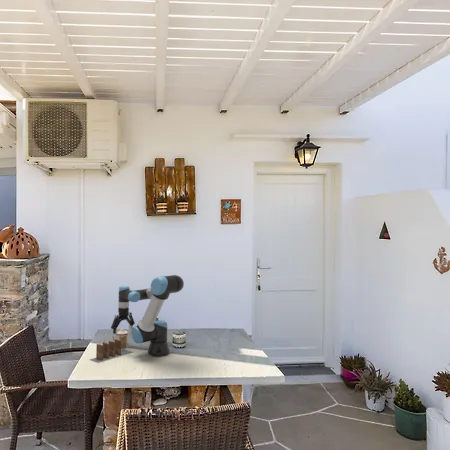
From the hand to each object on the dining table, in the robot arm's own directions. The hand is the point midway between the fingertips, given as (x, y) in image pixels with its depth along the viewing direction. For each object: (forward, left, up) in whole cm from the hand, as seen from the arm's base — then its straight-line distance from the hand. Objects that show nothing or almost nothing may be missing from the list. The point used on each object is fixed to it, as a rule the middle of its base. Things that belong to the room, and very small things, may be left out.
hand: (122, 336), depth 309 cm
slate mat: (-8, +16, -10) cm, 20 cm away
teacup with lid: (+11, -7, -10) cm, 16 cm away
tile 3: (-8, +16, -9) cm, 20 cm away
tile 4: (-8, +21, -9) cm, 24 cm away
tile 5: (-8, +26, -9) cm, 29 cm away
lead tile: (0, 0, -10) cm, 10 cm away
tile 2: (-8, +11, -9) cm, 16 cm away
